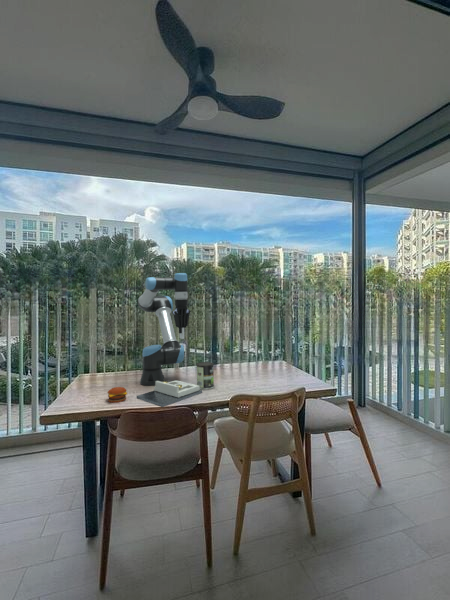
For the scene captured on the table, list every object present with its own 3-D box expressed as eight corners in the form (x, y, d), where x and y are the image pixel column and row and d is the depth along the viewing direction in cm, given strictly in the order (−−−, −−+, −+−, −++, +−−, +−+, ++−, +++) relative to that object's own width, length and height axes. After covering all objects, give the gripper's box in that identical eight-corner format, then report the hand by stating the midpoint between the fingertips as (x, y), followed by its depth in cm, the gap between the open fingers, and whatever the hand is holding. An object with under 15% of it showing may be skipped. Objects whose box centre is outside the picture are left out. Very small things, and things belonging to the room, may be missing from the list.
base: (136, 398, 164) (136, 386, 164) (176, 385, 186) (175, 375, 186) (162, 406, 150) (162, 394, 150) (202, 392, 172) (202, 381, 172)
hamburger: (110, 404, 155) (109, 391, 155) (106, 399, 163) (106, 387, 163) (128, 400, 160) (128, 388, 160) (124, 396, 168) (124, 384, 168)
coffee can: (215, 385, 187) (215, 362, 186) (211, 390, 176) (211, 365, 176) (199, 384, 189) (199, 361, 188) (194, 389, 179) (194, 365, 178)
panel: (154, 390, 172) (154, 381, 172) (175, 384, 184) (175, 375, 184) (178, 397, 159) (178, 387, 159) (199, 390, 172) (199, 380, 172)
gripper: (177, 299, 174) (178, 340, 174) (193, 298, 184) (194, 337, 184) (168, 299, 179) (169, 339, 179) (185, 299, 189) (185, 336, 189)
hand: (182, 338), depth 182 cm, fingers closed
